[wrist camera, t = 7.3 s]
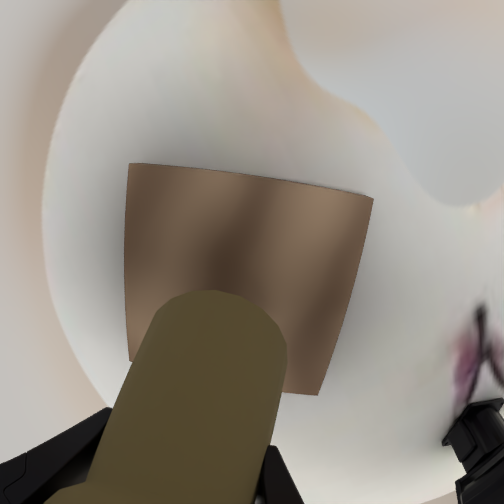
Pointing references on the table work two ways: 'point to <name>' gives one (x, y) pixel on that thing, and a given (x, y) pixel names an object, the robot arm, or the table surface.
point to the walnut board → (245, 254)
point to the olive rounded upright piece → (191, 408)
